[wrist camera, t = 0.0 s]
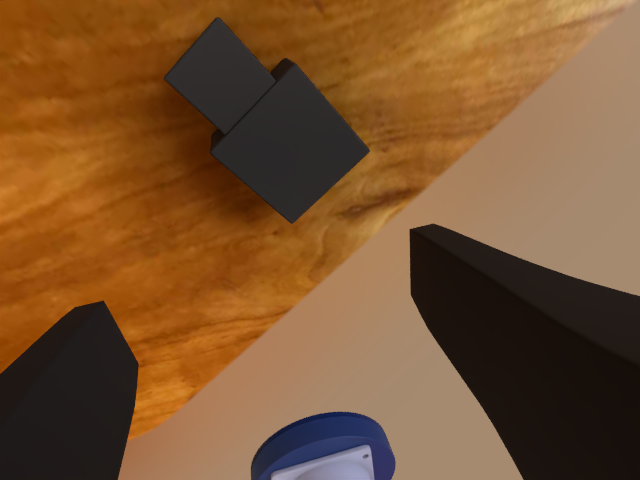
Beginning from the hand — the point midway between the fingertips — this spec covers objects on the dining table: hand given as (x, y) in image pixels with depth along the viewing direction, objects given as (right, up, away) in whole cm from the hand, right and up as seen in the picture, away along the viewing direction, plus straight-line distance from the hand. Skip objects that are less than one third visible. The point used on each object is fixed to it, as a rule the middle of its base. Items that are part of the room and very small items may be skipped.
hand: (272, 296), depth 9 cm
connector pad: (-2, +7, +9) cm, 12 cm away
